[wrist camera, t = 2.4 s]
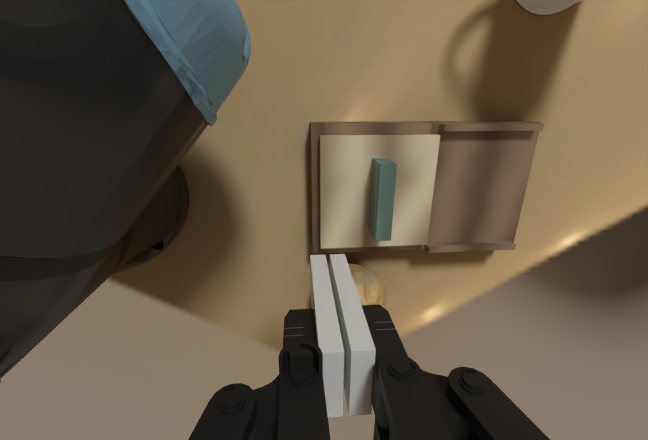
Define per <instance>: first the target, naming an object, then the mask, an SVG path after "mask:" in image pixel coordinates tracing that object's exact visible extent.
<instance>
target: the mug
mask: <svg viewBox="0 0 648 440" xmlns="http://www.w3.org/2000/svg"><path fill="white" fill-rule="evenodd" d="M516 1H517V2H518V3H519V4H520V5H521V6H522V7H523V8H524V9H526V10H527V11H529V12H531V13H534V14H539V15H549V14H554V13H557V12H560V11H562V10H564V9H566V8H568V7H570V6H571V5H573V4H575V3H577V2H580V1H583V0H516Z"/></svg>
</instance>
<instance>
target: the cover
mask: <svg viewBox="0 0 648 440" xmlns="http://www.w3.org/2000/svg"><path fill="white" fill-rule="evenodd" d="M439 143H440V135H437V134H423V135H320V247H321V249H325V248H352V247H380V246H407V245H427V239H428V231H429V223H430V215H431V207H432V199H433V191H434V183H435V175H436V167H437V159H438V151H439Z"/></svg>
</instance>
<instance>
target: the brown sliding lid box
mask: <svg viewBox="0 0 648 440" xmlns="http://www.w3.org/2000/svg"><path fill="white" fill-rule="evenodd" d="M542 129H543V124H541V122H530V121H422V122H310V159H311V225H312V250H313V253H337V252H364V251H390V250H417V249H425V250H426V251H427V252H428V253H439V252H465V251H491V250H514V249H515V245H516V244H514V243H513V242H514V238H515V234H516V229H517V225H518V221H519V216H520V212H521V208H522V203H523V199H524V195H525V190H526V186H527V181H528V177H529V173H530V168H531V164H532V160H533V155H534V151H535V147H536V142H537V138H538V134H539V130H542ZM423 134H437V135H440V143H439V151H438V159H437V167H436V175H435V183H434V191H433V199H432V207H431V215H430V223H429V231H428V239H427V245H407V246H380V247H352V248H325V249H321V247H320V135H423Z"/></svg>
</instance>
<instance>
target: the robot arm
mask: <svg viewBox="0 0 648 440" xmlns="http://www.w3.org/2000/svg"><path fill="white" fill-rule="evenodd" d="M250 52H251V44H250V36H249V32H248V29H247V26H246V23H245V20H244V18H243V15H242V13H241V11H240V9H239V7H238V5H237V3H236V1H235V0H0V382H1V378H2V377H3V376H4V375H5V374H6V373H7V372H8V371H9V370H11V369H12V368H13V367H14V366H15V365H16V364H17V363H18V362H19V361H20V360H21V359H22V358H23V357H24V356H25V355H27V354H28V353H29V352H30V351H31V350H32V349H33V348H34V347H35V346H36V345H37V344H38V343H39V342H40V341H41V340H42V339H44V338H45V337H46V336H47V335H48V334H49V333H50V332H51V331H52V330H53V329H54V328H55V327H56V326H57V325H58V324H59V323H61V322H62V321H63V320H64V319H65V318H66V317H67V316H68V315H69V314H70V313H71V312H72V311H73V310H74V309H76V308H77V307H78V306H79V305H80V304H81V303H82V302H83V301H84V300H85V299H86V298H87V297H88V296H89V295H90V294H91V293H93V292H94V291H95V290H96V289H97V288H98V287H99V286H100V285H101V284H102V283H103V282H104V281H105V280H106V279H107V278H108V277H109V276H110V275H111V274H114V273H117V272H120V271H123V270H126V269H128V268H131V267H134V266H137V265H140V264H143V263H145V262H147V261H149V260H151V259H152V258H154V257H156V256H157V255H158V254H160V253H161V252H162V251H163V250H164V249H166V248H167V246H168V245H169V244H170V243H171V242H172V241H173V240H174V239H175V237H176V236H177V235H178V234H179V232H180V230H181V229H182V227H183V225H184V222H185V220H186V217H187V212H188V205H189V195H188V188H187V183H186V180H185V177H184V174H183V172H182V169H181V167H180V165H179V163H180V161H181V160H182V159H183V157H184V156H185V155H186V154H187V152H188V151H189V150H190V148H191V147H192V146H193V144H194V143H195V142H196V140H197V139H198V138H199V136H200V135H201V134H202V132H203V131H204V130H205V128H206V127H207V126H208V125H210V126H213V124H214V123H215V122H216V120H217V115H216V113H217V111H218V110H219V108H220V107H221V105H222V104H223V102H224V101H225V99H226V98H227V96H228V95H229V93H230V92H231V90H232V89H233V87H234V86H235V85H236V83H237V82H238V80H239V79H240V77H241V76H242V74H243V73H244V71H245V69H246V67H247V65H248V62H249V58H250ZM310 274H311V308H312V309H297V310H290V311H289V312H288V314H287V315H286V317H285V318H284V338H283V349H282V350H281V351H280V354H279V375H278V376H277V378H276V379H275V380H274V381H272V382H271V383H269V384H268V385H265V386H263V387H261V388H258V389H255V390H252V389H251V388H250V387H249V386H247V385H244V384H241V383H240V384H231V385H228V386H225V387H223V388H221V389H220V390H219V391H217V392H216V393H215V394H214V395H213V397H212V398H211V399H210V401H209V403H208V405H207V406H206V408H205V410H204V412H203V414H202V416H201V418H200V419H199V421H198V423H197V425H196V427H195V429H194V430H193V432H192V434H191V436H190V438H189V440H330V434H329V424H328V417H339V416H343V415H342V414H343V384H344V389H345V395H346V401H347V406H348V413H349V416H353V415H365V414H371V410H372V405H373V409H374V413H375V427H374V438H373V440H550V439H549V438H548V437H547V436H546V435H545V434H544V433H543V432H542V431H541V430H540V429H539V428H538V427H537V426H536V425H535V424H534V423H533V422H532V421H531V420H530V419H529V418H528V417H527V416H526V415H525V414H524V413H523V412H522V411H521V410H520V409H519V408H518V407H517V406H516V405H515V404H514V403H513V402H512V401H511V400H510V399H509V398H508V397H507V396H506V395H505V394H504V393H503V392H502V391H501V390H500V389H499V388H498V387H497V386H496V385H495V384H494V383H493V382H492V381H491V380H490V379H489V378H488V377H487V376H486V375H484V374H483V373H482V372H479V371H477V370H475V369H473V368H468V367H458V368H455V369H453V370H452V371H451V372H450V374H449V376H448V377H446V376H441V375H436V374H432V373H428V372H425V371H423V370H421V369H420V367H419V366H418V364H417V363H416V362H415V361H413V360H412V359H411V358H409V357H408V356H407V353H406V351H405V349H404V347H403V344H402V342H401V340H400V338H399V335H398V333H397V331H396V330H395V326H394V324H393V322H392V319H391V317H390V315H389V313H388V311H387V310H386V309H385V308H383V307H382V306H381V305H380V304H378V305H361V302H360V299H359V296H358V293H357V290H356V287H355V284H354V281H353V278H352V275H351V271H350V268H349V265H348V262H347V259H346V256H345V254H330V276H329V271H328V265H327V260H326V255H310Z"/></svg>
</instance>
